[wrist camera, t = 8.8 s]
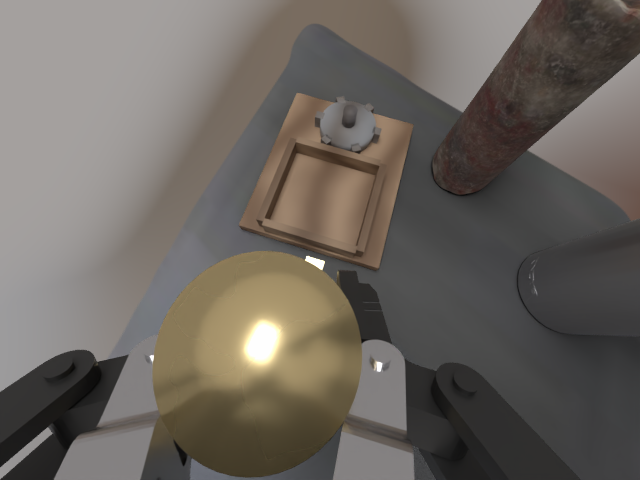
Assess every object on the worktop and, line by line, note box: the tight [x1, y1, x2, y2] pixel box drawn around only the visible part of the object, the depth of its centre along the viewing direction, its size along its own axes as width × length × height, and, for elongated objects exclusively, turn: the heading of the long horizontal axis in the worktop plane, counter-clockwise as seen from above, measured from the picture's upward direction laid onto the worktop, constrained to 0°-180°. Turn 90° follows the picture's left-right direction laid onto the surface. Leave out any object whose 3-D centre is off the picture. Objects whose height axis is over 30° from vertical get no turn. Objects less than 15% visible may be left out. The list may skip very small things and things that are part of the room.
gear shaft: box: [152, 251, 362, 477], centre depth 10 cm, size 8×8×10 cm
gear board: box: [239, 93, 413, 270], centre depth 31 cm, size 16×20×5 cm
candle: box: [432, 0, 640, 195], centre depth 24 cm, size 8×7×20 cm
